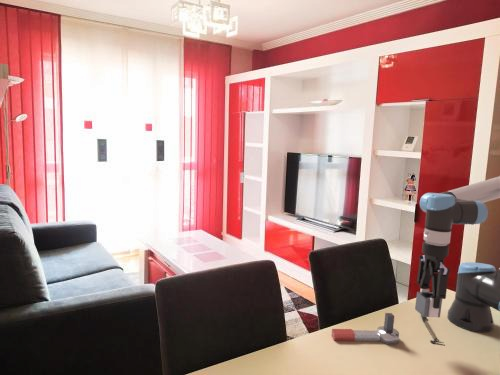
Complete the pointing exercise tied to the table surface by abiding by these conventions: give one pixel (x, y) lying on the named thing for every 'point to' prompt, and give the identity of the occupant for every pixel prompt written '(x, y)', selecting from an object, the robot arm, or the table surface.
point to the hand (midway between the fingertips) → (427, 312)
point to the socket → (425, 303)
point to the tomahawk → (431, 331)
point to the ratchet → (370, 333)
